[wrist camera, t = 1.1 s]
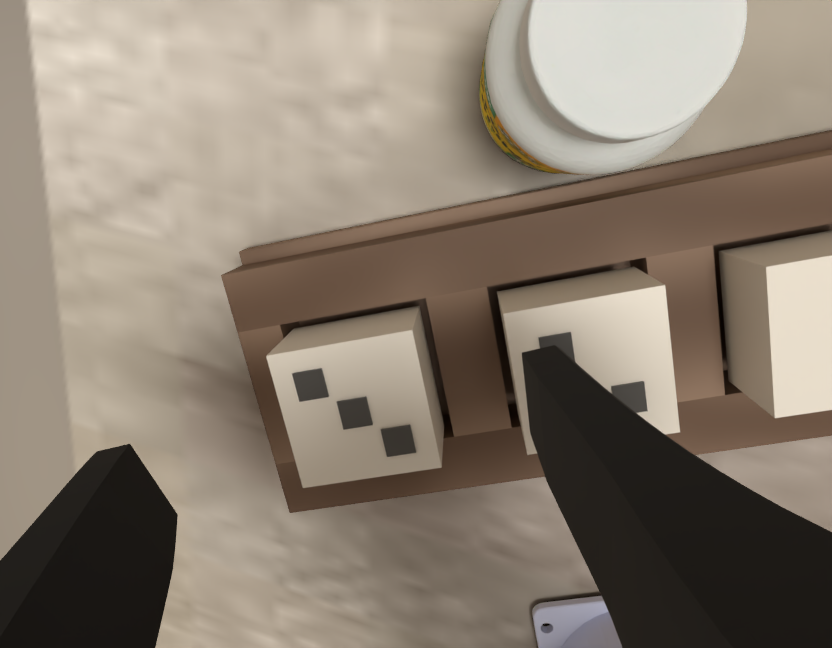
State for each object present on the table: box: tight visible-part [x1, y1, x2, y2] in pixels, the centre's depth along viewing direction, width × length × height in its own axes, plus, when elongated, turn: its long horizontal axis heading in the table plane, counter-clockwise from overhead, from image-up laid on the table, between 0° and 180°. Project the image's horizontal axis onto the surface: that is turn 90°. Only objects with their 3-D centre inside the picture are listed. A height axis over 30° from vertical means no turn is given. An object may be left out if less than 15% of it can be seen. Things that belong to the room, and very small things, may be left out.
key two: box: [497, 266, 680, 455], centre depth 18 cm, size 4×4×3 cm
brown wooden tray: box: [221, 130, 832, 513], centre depth 21 cm, size 10×22×3 cm, turn 102°
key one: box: [719, 230, 832, 418], centre depth 17 cm, size 4×4×3 cm
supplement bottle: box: [479, 0, 747, 175], centre depth 15 cm, size 5×5×10 cm
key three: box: [266, 306, 444, 488], centre depth 19 cm, size 4×4×3 cm
